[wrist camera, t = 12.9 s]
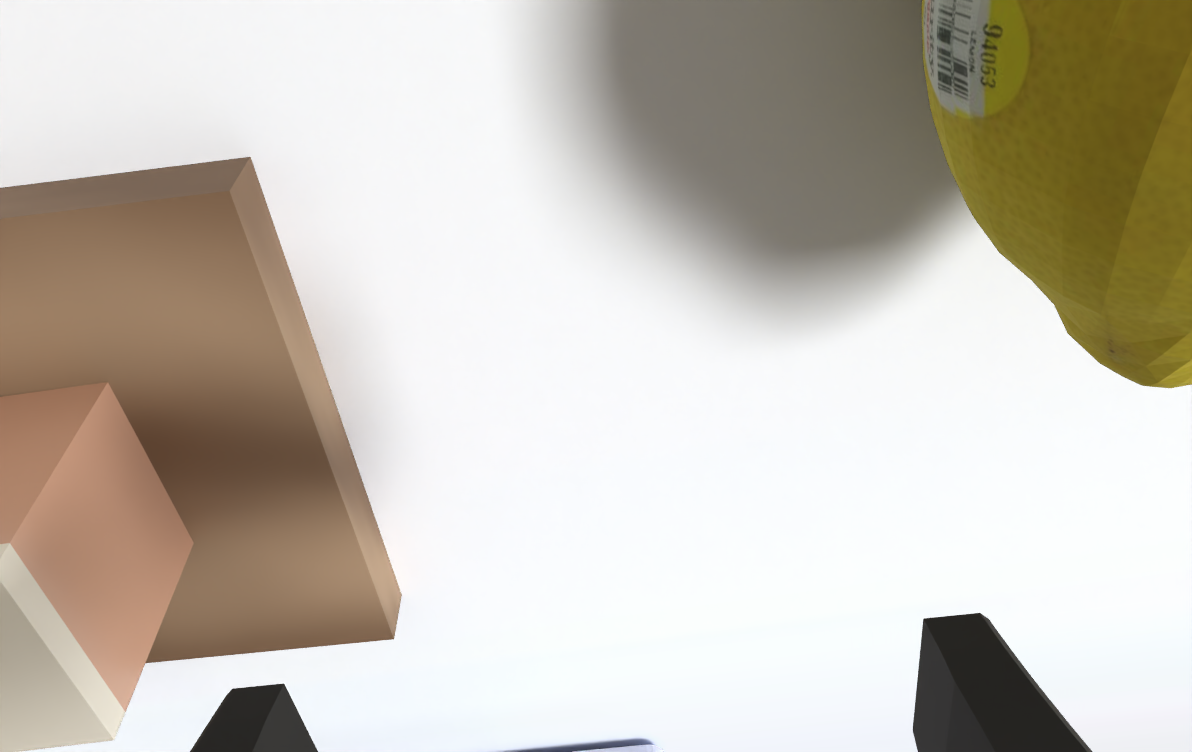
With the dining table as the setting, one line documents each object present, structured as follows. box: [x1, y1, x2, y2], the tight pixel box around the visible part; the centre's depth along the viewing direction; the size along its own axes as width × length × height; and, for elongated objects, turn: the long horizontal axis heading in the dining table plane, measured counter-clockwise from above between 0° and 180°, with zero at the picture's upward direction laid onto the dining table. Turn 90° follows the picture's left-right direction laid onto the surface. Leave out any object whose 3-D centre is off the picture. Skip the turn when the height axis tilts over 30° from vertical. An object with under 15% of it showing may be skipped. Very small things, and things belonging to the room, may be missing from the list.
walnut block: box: [0, 157, 402, 663], centre depth 22 cm, size 12×12×2 cm
